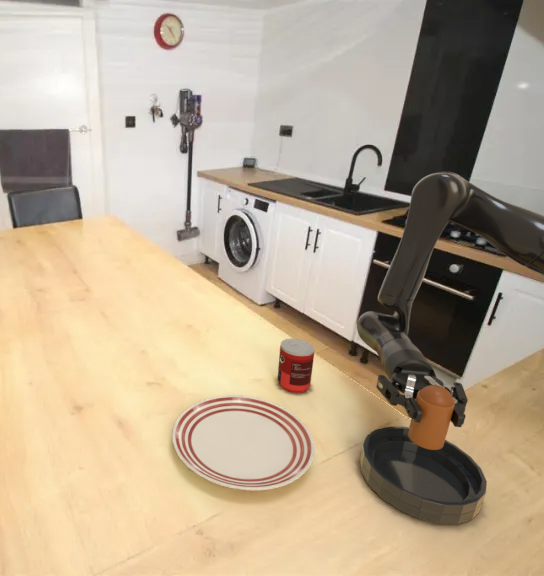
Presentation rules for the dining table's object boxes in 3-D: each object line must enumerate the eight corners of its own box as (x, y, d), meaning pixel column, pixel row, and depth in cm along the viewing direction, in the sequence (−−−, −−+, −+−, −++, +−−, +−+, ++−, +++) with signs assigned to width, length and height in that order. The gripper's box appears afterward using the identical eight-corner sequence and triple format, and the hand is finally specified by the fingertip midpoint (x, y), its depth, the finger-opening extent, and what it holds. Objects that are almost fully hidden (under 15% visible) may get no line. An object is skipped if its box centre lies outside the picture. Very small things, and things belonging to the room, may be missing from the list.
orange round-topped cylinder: (432, 429, 72) (445, 378, 68) (450, 450, 67) (465, 397, 64) (402, 428, 72) (413, 378, 69) (418, 449, 68) (431, 397, 64)
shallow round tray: (438, 445, 81) (443, 426, 79) (507, 528, 64) (515, 506, 62) (344, 444, 82) (347, 425, 80) (387, 525, 65) (392, 503, 63)
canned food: (286, 372, 107) (290, 335, 103) (315, 384, 102) (320, 345, 98) (270, 384, 102) (274, 345, 98) (300, 398, 97) (305, 357, 93)
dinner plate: (153, 422, 90) (152, 410, 88) (259, 393, 99) (260, 381, 97) (212, 526, 66) (212, 510, 64) (345, 475, 74) (348, 461, 73)
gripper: (368, 345, 81) (394, 395, 66) (450, 351, 78) (497, 406, 62) (362, 377, 84) (386, 433, 68) (441, 385, 81) (484, 445, 65)
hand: (439, 420), depth 65 cm, fingers closed on orange round-topped cylinder, 5 cm apart
